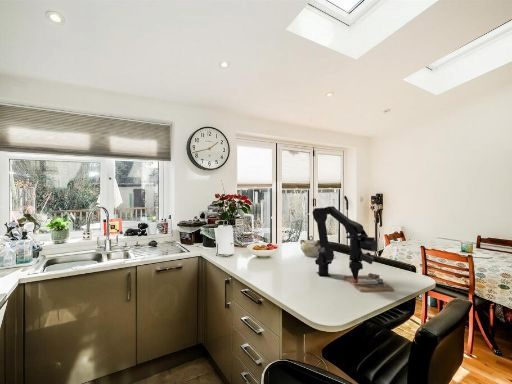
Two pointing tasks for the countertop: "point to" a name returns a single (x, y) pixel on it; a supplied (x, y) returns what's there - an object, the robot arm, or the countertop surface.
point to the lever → (368, 281)
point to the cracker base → (368, 287)
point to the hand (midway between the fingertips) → (355, 278)
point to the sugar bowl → (310, 247)
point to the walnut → (372, 276)
